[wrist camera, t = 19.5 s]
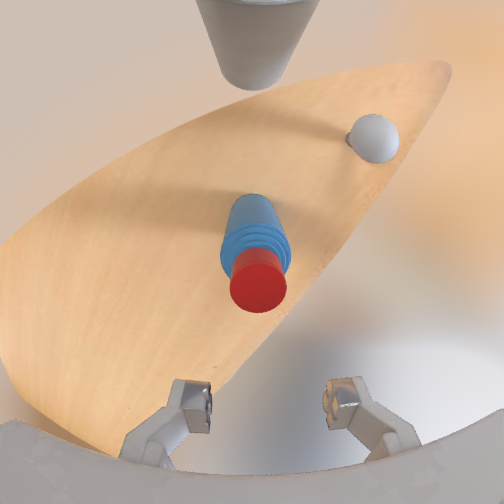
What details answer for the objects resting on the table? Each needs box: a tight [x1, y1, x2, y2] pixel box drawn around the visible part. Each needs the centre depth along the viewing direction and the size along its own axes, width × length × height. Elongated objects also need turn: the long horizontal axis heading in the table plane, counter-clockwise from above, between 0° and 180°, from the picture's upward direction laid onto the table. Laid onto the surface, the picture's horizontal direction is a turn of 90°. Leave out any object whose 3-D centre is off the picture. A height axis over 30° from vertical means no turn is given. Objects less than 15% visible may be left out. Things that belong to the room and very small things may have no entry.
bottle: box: [220, 194, 291, 279], centre depth 30 cm, size 6×6×22 cm
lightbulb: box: [346, 114, 399, 164], centre depth 31 cm, size 6×6×11 cm
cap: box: [230, 248, 287, 313], centre depth 21 cm, size 4×4×3 cm
